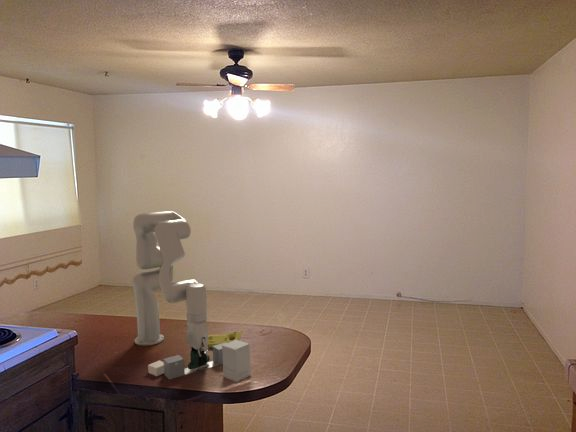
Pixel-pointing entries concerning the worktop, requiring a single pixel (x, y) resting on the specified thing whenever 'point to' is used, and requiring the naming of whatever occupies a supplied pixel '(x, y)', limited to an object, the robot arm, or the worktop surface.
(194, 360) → the mount
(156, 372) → the block
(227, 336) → the plastic component
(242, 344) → the supplement box
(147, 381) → the worktop surface
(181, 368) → the block
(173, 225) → the robot arm
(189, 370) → the rail
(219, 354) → the block
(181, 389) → the worktop surface
